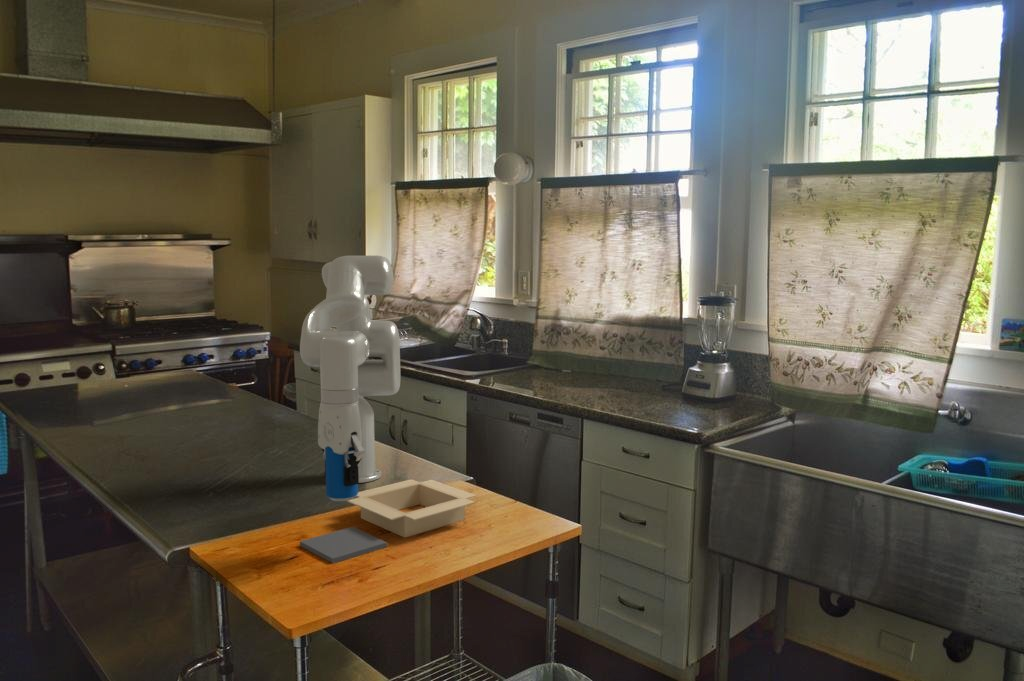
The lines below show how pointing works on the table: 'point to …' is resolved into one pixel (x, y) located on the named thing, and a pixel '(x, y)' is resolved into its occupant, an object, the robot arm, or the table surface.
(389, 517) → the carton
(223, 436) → the table surface
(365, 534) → the mat
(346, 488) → the beverage can
